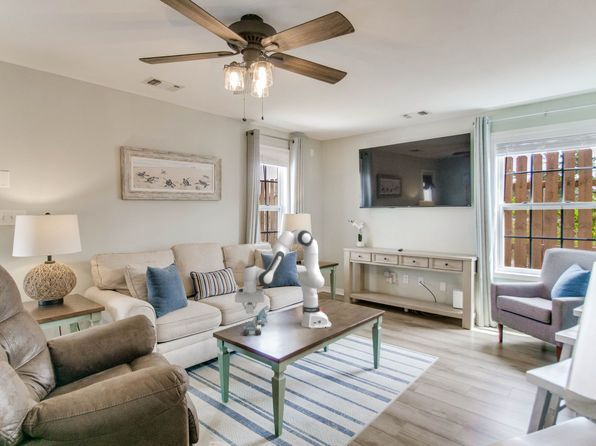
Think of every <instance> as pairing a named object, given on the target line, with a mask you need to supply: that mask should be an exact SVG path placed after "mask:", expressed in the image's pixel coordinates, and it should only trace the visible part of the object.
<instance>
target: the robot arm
mask: <svg viewBox="0 0 596 446" xmlns="http://www.w3.org/2000/svg"><path fill="white" fill-rule="evenodd" d="M294 244H295V245H297V246H302V247H303V248H302V249H303V252H302V253H303V254H302V255H303V256H302V257H303V266H304V268H305V271H303V270H302V271H301V272H299V273H298V274H297V282H298V284H299V285H300V287H301V293H302V304H303V305H302V308H301V309H302V310H301V311H302V319H301V322H300V326H302V327H304V328H308V329H311V330H312V329H324V328H325V327H326V328H331V327H332V322H331V321H330V320H329V317H328V316H327V314H326V313H324V312H323V311H322V310H323V309H322V307H321V306H320V305H319V295H318V293H317V291H316V289H317V290H318V289H322V288H323V286H324V285H325V277H324V276H323V275H322V273H321V269H320V265H319V246H318V241H317V240H316V239H314V238H313V237H312V234H311V232H310V231H308V230H305V229H295V230H293V231H289V230H284V231H283V232H282V233H281V234H280V236H279V237H278V238H277V239H276V241H275V242H274V244H273V247H272V251H271V252H272V254H273V256H272V260H271V262H270V263H269V266H268V267H267V269H265V268H264V269H263V268H261V267H259V266H257V265H256V264H248V265H246V266H245V267H244V269H243V285H242V286H240V287H237V288H236V293H235V296H234V302H235V303H238V304H239V303H240V304H242V306H243V310H246V303H254V306H253V309H254V310H256V309H257V307H256V306H257V305H258V303H264V302H265V301H266V300H265V295H266V290H265V289H264V288H257V283H259V284H260V285H261V286H262V287H270V286H271V285H272V284H273V283H274V281H275V276H276V274H277V271H278V270H279V268H280V267H281V264H282V263H283V262H284V259H285V257H286V256H287V254H288V252H289V250H290V249H291V247H292V246H293V245H294Z"/></svg>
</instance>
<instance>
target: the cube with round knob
mask: <svg viewBox="0 0 596 446" xmlns="http://www.w3.org/2000/svg"><path fill="white" fill-rule="evenodd" d="M245 306H246V309H245V314H248V315H249V314H254V312H255V309H253V306H255V303H245Z"/></svg>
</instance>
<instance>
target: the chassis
mask: <svg viewBox="0 0 596 446" xmlns="http://www.w3.org/2000/svg"><path fill="white" fill-rule="evenodd" d="M262 329H263V326H261V325H260V324H244V325H243V330H242V334H243V336H245V337H248V336H249V335H252V336H253V335H255V336H257V337H260V336H261V335H262V331H263V330H262Z"/></svg>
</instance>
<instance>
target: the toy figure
mask: <svg viewBox="0 0 596 446" xmlns="http://www.w3.org/2000/svg"><path fill="white" fill-rule="evenodd" d="M266 311H270V307H269V305H265V306H264V307H263V308H262V309H261V310H260V311H259V313H258V315H255V317H253V320H252V323H256V324H257V325H259V324H260V325H261V326H262V327H264V326H265V325H266V324H268V316H267V312H266Z"/></svg>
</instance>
